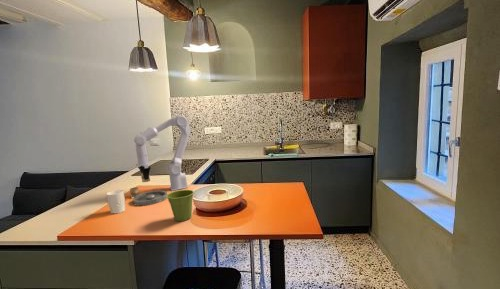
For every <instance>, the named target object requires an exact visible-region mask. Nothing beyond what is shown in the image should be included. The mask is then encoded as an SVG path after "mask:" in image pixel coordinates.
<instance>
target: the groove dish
mask: <svg viewBox="0 0 500 289" xmlns="http://www.w3.org/2000/svg"><path fill="white" fill-rule="evenodd" d="M167 194H168V192H167V191H165V190H151V191H147V192H142V193H139V195H137V196H135V197H134V198H132V201H133V204H134V205H135V204H136V205H135V206H139V205H144V206H150V205H155V204H158V203H161V202H163V201H166V200H167V199H168V198H167V197H166V195H167Z"/></svg>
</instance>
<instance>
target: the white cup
mask: <svg viewBox="0 0 500 289" xmlns="http://www.w3.org/2000/svg"><path fill="white" fill-rule="evenodd" d="M105 195H106V199H107V203H108V207H109V210H110V214H112V213H117V214H120V213H123V212H125V211H126V210H125V209H126V201H125V200H126V199H125V191H124V189H115V190H111V191H108V192H106V194H105Z"/></svg>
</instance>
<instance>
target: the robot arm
mask: <svg viewBox="0 0 500 289" xmlns="http://www.w3.org/2000/svg"><path fill="white" fill-rule="evenodd" d="M172 126H173V127H178V129H179V131H180V132H181V133H180V136H179V138H178V143H177V145H176V149H175V152H174V155H173V157H172V159H171V161H170V162H169V164H168V167H167V168H168V171H169V174H168V175H169V181H170V186H169V188H170V190H171V191H172V192H174V191H179V190H185V189H187V188H188V182H187V176H186V172H182V162H183V161H182V159H183V157H184V153H185V150H186V148H187V144H188V141H189V138H190V136H191V128H190V124H189V120H188V119H187V117H186V116H185V115H176V116H175V117H171V118H169V119H167V120H165V121H164V122H163V123H161V124H159V125H158V126H156V127H153V126H152V127H148V128H147V129H146V130H144V131H143V132H140V134H137V135H136V136H134V139H133V141H134V143H135V151H136V156H137V157H136V158H137V163H136V167H137V166H138V167H137V168H138V170H139V171H140V174H141V173H143V176H144V179H145V180H147V179H149V176H150V172H151V171H150V170H151V166H149V165H150V161H149V155H148V149H147V146H146V142H149V141H151V140H153V139H154V138H157V136H158V135H159V133H160V132H161V131H164V130H166V129H168V128H169V127H172Z"/></svg>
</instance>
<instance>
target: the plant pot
mask: <svg viewBox="0 0 500 289" xmlns="http://www.w3.org/2000/svg"><path fill="white" fill-rule="evenodd" d="M194 194H195V191H194V190H193V189H178V190H174V191H172V192H169V193H167V195H166V197H167V199H168V203H169V204H170V207H171V210H172V214H173V218H174V221H177V222H184V221H187V220H190V219H191V218H192V216H193V214H192V212H193V198H194Z"/></svg>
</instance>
